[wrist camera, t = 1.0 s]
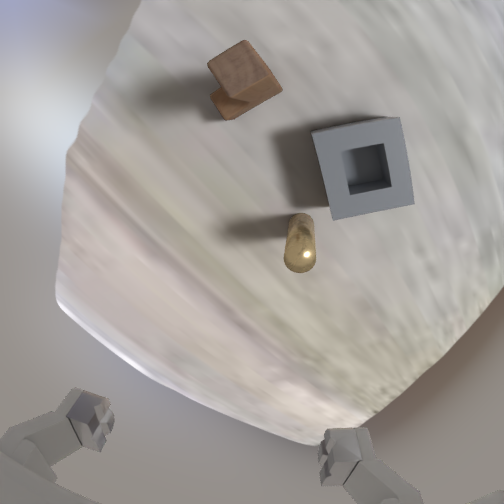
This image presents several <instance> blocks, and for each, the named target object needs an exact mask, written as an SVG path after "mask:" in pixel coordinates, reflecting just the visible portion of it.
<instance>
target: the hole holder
mask: <svg viewBox="0 0 504 504" xmlns="http://www.w3.org/2000/svg"><path fill="white" fill-rule="evenodd" d="M311 135H312V138H313V142H314V146H315V150H316V153H317V157H318V161H319V165H320V169H321V173H322V177H323V181H324V185H325V190H326V194H327V198H328V203H329V207H330V211H331V215H332V219H333V221H334V220H338V219H343V218H348V217H353V216H358V215H363V214H368V213H372V212H377V211H382V210H387V209H392V208H397V207H402V206H407V205H412V204H414V195H413V187H412V180H411V174H410V167H409V161H408V155H407V150H406V145H405V140H404V135H403V130H402V125H401V121H400V117H382V118H376V119H370V120H365V121H359V122H354V123H348V124H343V125H338V126H334V127H329V128H324V129H319V130H315V131H311Z"/></svg>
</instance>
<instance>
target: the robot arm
mask: <svg viewBox="0 0 504 504" xmlns="http://www.w3.org/2000/svg"><path fill="white" fill-rule="evenodd" d="M110 405H111V404H110V401H109V399H108V398H105V397H102V396H99V395H96V394H93V393H90V392H88V391H85V390H82V389H79V388H76V387H75V388H73V389H71V391H70V392H69V393H68V395H67V396H66V397H65V399H64V400H63V401H62V403H61V404H60V406H59V407H58V409H57V410H56V411H55V412H53V411H51V412H48V413H46V414H43V415H41V416H38V417H36V418H33V419H31V420H28V421H26V422H23V423H21V424H18V425H15V426H13V427H10V428H9V429H8V430H7V431H6V433H5V434H4V435H3V436H2V438H1V439H0V504H101V503H98V502H96V501H93V500H91V499H88V498H86V497H84V496H81V495H79V494H77V493H74V492H72V491H70V490H68V489H66V488H64V487H62V486H59V485H58V484H56V483H55V482H56V479H57V475H56V474H55V473H54V471H53V470H52V469H51V466H53V465H54V464H56V463H57V462H59V461H61V460H62V459H64V458H66V457H67V456H69V455H71V454H72V453H74V452H75V451H77V450H79V449H80V448H82V446H83V447H86V448H89V449H92V450H95V451H97V452H101V450H102V448H103V446H104V445H105V443H106V438H105V436H106V435H107V434H109V433H111V431H112V429H113V426H114V414H113V412H112V410H111V409H110V408H109V406H110ZM324 438H325V439H324V440H323V441H321V443H320V446H319V451H318V462H319V464H320V465H321V466H322V469H321V471H320V481H321V486H343V487H344V489H345V490H346V491H347V492H348V493H349V495H351V497H352V498H353V499H354V500H355V501H356V503H357V504H423V500H422V497H421V494H420V491H419V490H417V489H416V488H415V487H413V486H412V485H411V484H410V483H408V482H407V481H406V480H405V479H403V478H402V477H401V476H400V475H398V474H397V473H396V472H395V471H393V470H392V469H391V468H390V467H389V466H387V465H386V464H385V463H384V462H383V461H382V460H380V459H379V460H377V459H376V456H375V452H374V449H373V445H372V442H371V438H370V435H369V431H368V429H367V428H366V427H364V428H363V427H362V428H333V429H327V430H326V431H325V433H324ZM467 504H504V491H503V490H497V491H495V492H492V493H490V494H488V495H486V496H484V497H481V498H479V499H477V500H474V501H472V502H469V503H467Z"/></svg>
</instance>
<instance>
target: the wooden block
mask: <svg viewBox="0 0 504 504" xmlns="http://www.w3.org/2000/svg"><path fill="white" fill-rule="evenodd" d="M207 65H208V68H209V69H210V71H211V72H212V74H213V75H214V77H215V78H216V79H217V81H218V82H219V84H220V85H221V87H220V88H219V89H218V90H216V91H215V92H213V93H212V94H211V95H210V98H211V100H212V101H213V103H214V104H215V106H216V107H217V109H218V110H219V112H220V114H221V115H222V117H223V118H224V119H225V120H233V119H235V118H237V117H239V116H240V115H242V114H244V113H245V112H247V111H249V110H250V109H252V108H254V107H255V106H257V105H259V104H261V103H262V102H264V101H266V100H268V99H270V98H271V97H273V96H275V95H277V94H279V93H280V92H282V87H281V86H280V84H279V83H278V81H277V80H276V78H275V77H274V75H273V74H272V72H271V70H270V69H269V68H268V66H267V65H266V64H265V62H264V61H263V60H262V58H261V57H260V56H259V54H258V53H257V52H256V51H255V49H254V48H253V47H252V46H251V44H250V43H249V42H248V41H246V40H243V41H241V42H239V43H237V44H236V45H234V46H232V47H231V48H229V49H227V50H226V51H224V52H223V53H221V54H219V55H218V56H216V57H215V58H213V59H212V60H210V61H209V62H208V63H207Z"/></svg>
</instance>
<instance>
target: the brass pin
mask: <svg viewBox="0 0 504 504" xmlns="http://www.w3.org/2000/svg"><path fill="white" fill-rule="evenodd" d="M284 262H285V265H286V266H287V268H288V269H290V270H291V271H293V272H296V273H304V272H307V271H309V270H310V269H312V268H313V266H314V265H315V262H316V249H315V233H314V222H313V219H312V218H311V217H310V216H309V215H307V214H305V213H298V214H295V215H294V216H292V218H291V219H290V221H289V227H288V233H287V240H286V246H285V253H284Z"/></svg>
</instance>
